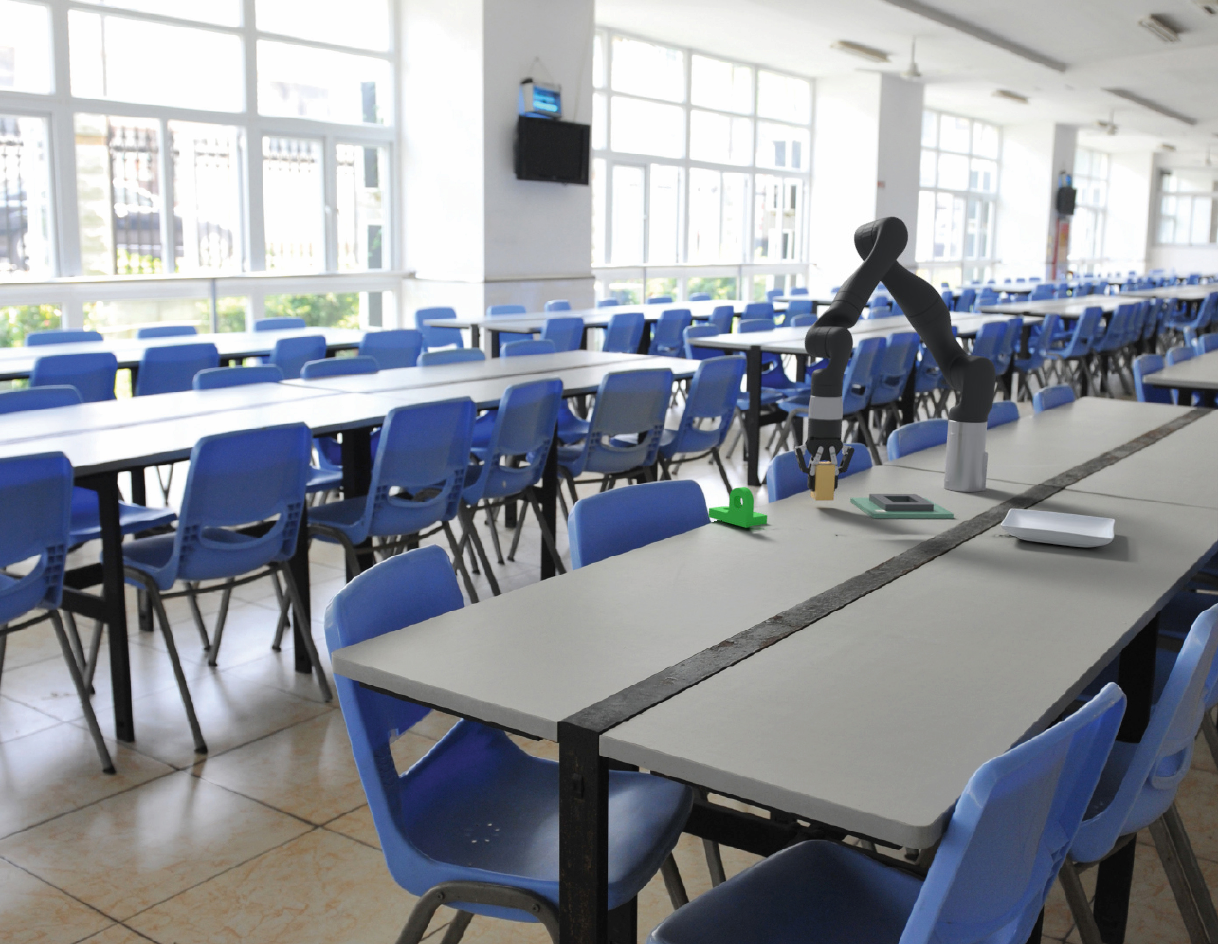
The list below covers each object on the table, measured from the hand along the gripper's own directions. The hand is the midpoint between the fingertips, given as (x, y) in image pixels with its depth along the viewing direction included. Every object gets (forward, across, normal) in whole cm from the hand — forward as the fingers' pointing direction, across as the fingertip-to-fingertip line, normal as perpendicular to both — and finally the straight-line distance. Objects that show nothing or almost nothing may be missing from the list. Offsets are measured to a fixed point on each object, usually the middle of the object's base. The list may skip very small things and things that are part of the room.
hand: (822, 490), depth 255 cm
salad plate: (+5, -43, +27) cm, 51 cm away
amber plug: (+2, 0, 0) cm, 2 cm away
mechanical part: (+4, +22, +13) cm, 26 cm away
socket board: (+4, -18, +2) cm, 18 cm away
